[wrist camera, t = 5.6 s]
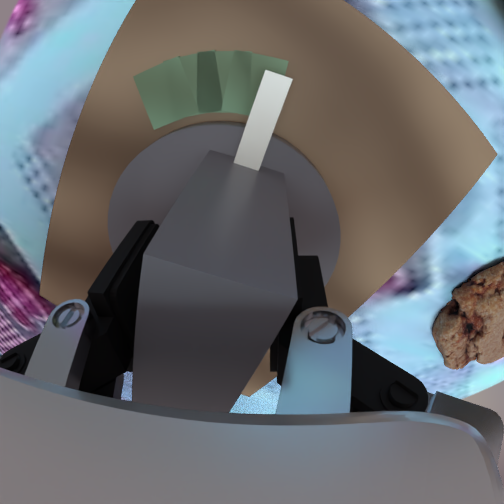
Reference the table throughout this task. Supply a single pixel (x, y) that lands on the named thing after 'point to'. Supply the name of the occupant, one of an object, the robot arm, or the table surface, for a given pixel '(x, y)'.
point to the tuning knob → (219, 250)
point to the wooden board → (287, 127)
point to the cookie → (473, 321)
